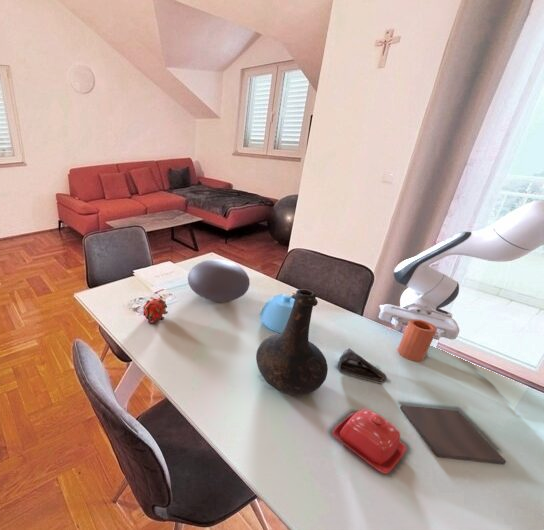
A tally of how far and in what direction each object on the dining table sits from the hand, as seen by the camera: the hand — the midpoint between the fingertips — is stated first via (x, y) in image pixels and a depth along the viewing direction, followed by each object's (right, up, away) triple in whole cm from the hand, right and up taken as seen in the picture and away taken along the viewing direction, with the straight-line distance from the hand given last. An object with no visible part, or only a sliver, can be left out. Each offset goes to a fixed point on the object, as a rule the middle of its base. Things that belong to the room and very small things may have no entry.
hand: (416, 331), depth 99 cm
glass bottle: (-46, -12, -11) cm, 49 cm away
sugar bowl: (-37, 0, +14) cm, 39 cm away
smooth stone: (-56, +8, +33) cm, 66 cm away
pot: (-3, -7, -1) cm, 8 cm away
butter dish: (-36, -19, -28) cm, 50 cm away
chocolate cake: (-23, -10, -7) cm, 26 cm away
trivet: (-16, -18, -26) cm, 36 cm away
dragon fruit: (-82, +1, +17) cm, 84 cm away
